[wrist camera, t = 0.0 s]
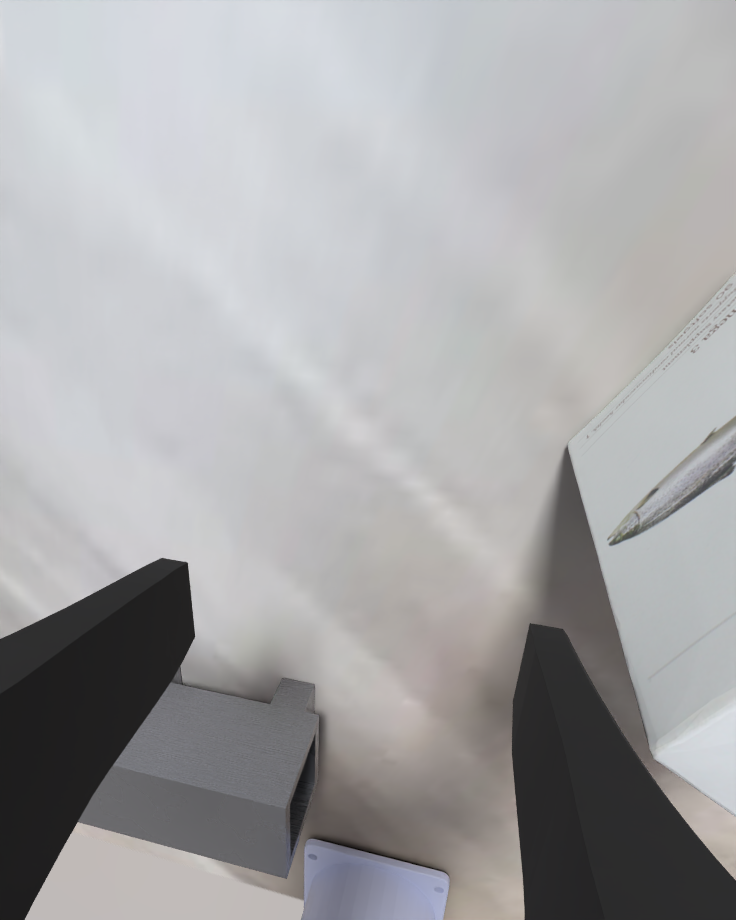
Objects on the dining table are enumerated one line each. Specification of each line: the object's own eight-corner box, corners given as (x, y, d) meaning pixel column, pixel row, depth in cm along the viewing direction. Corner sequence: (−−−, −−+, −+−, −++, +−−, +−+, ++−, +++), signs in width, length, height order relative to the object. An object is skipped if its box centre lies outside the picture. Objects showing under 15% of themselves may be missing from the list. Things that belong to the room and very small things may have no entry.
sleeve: (326, 752, 28) (286, 878, 23) (146, 710, 30) (69, 819, 25) (328, 687, 26) (285, 808, 21) (136, 647, 28) (51, 750, 23)
